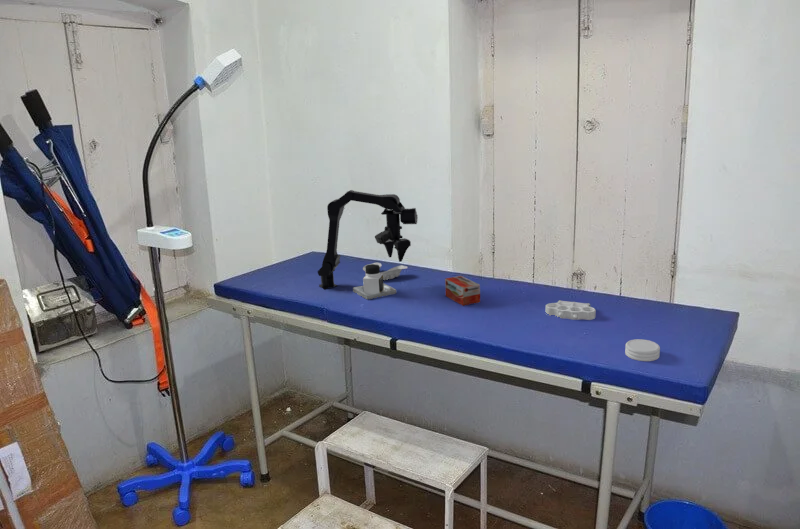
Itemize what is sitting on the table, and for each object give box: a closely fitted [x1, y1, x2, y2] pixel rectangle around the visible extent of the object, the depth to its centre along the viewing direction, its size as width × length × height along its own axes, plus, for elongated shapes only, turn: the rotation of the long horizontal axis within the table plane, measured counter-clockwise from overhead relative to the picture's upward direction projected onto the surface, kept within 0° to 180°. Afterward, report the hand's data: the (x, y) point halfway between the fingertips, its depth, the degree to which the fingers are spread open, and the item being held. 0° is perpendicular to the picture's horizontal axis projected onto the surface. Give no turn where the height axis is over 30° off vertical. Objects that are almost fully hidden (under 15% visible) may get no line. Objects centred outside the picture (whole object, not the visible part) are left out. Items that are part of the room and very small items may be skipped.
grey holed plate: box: [545, 299, 597, 321], centre depth 220 cm, size 3×18×15 cm
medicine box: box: [444, 275, 481, 307], centre depth 241 cm, size 15×8×8 cm, turn 25°
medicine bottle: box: [362, 263, 384, 294], centre depth 255 cm, size 7×7×12 cm
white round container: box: [624, 338, 661, 362], centre depth 183 cm, size 10×10×4 cm
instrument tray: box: [352, 282, 397, 301], centre depth 256 cm, size 14×14×2 cm
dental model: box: [362, 262, 408, 281], centre depth 278 cm, size 23×17×5 cm
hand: (395, 259), depth 258 cm, fingers open, 9 cm apart
